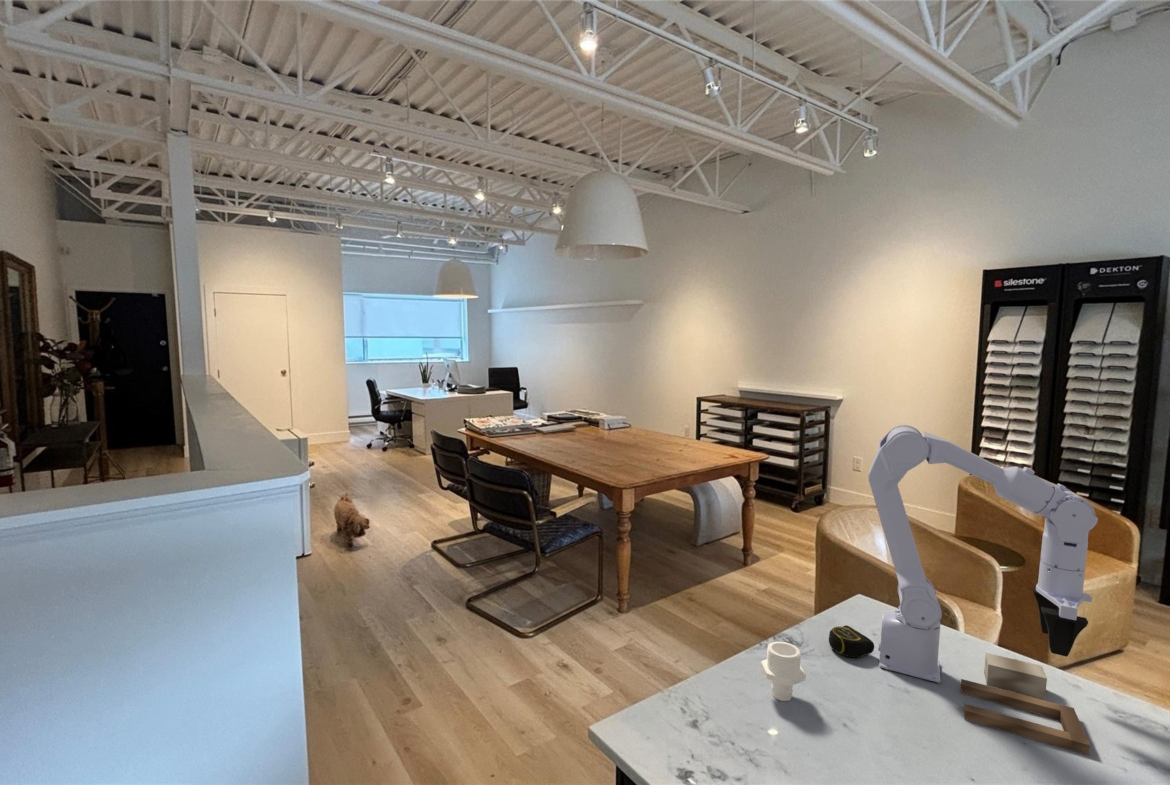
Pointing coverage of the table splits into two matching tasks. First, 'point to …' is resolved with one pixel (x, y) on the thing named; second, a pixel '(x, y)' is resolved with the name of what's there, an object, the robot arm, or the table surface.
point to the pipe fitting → (783, 669)
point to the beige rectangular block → (1015, 676)
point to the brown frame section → (1067, 739)
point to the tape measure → (850, 642)
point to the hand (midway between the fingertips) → (1054, 643)
